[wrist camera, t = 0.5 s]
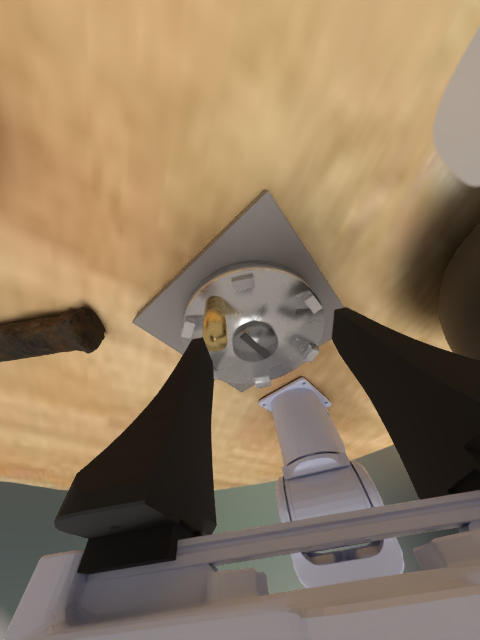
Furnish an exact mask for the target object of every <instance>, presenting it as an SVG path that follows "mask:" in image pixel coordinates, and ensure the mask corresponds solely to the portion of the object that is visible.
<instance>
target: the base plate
mask: <svg viewBox="0 0 480 640" xmlns="http://www.w3.org/2000/svg"><path fill="white" fill-rule="evenodd" d="M249 261H263V262H271V263H275V264H279V265H281V266H284V267H286V268H289V269H290V270H292V271H294V272H295V273H297V274H298V275H299V276H300V277H301V278H303V280H304V281H305V282H306V283H307V284H308V285H309V287H310V288H311V289H312V290H313V292H314V293H315V294H316V295H317V297H318V299H319V300H320V302H321V305H322V307H323V310H324V316H325V326H324V332H323V335H322V338H321V340H320V343H319V345H318V346H320V345H322V344H324V343H325V342H327V341H329V340H330V339H332V329H333V318H334V310H335V309H340V308H344V306H343V305H342V303H341V302H340V300H339V299H338V297H337V296H336V294H335V293H334V291H333V290H332V288H331V286H330V285H329V283H328V282H327V280H326V279H325V277H324V276H323V274H322V273H321V271H320V270H319V268H318V267H317V265H316V263H315V262H314V260H313V259H312V257H311V256H310V254H309V253H308V251H307V250H306V248H305V247H304V245H303V243H302V242H301V240H300V239H299V237H298V236H297V234H296V233H295V231H294V230H293V228H292V227H291V225H290V223H289V222H288V220H287V219H286V217H285V216H284V214H283V213H282V211H281V210H280V208H279V207H278V205H277V203H276V202H275V200H274V199H273V197H272V196H271V194H270V193H269V191H267V190H263V191H262V192H261V193H260V194H259V195H258V196H257V197H256V198H255V199H254V200H253V201H252V202H251V203H250V204H249V205H248V206H247V207H246V208H245V209H244V210H243V211H242V212H241V213H240V214H239V215H238V216H237V217H236V218H235V219H234V220H233V221H232V222H231V223H230V224H229V225H228V226H227V227H225V228H224V229H223V230H222V231H221V232H220V233H219V234H218V235H217V236H216V237H215V238H214V239H213V240H212V241H211V242H210V243H209V244H208V245H207V246H206V247H205V248H204V249H203V250H202V251H201V252H200V253H199V254H198V255H197V256H196V257H195V258H194V259H193V260H192V261H191V262H190V263H189V264H188V265H186V266H185V267H184V268H183V269H182V270H181V271H180V272H179V273H178V274H177V275H176V276H175V277H174V278H173V279H172V280H171V281H170V282H169V283H168V284H167V285H166V286H165V287H164V288H163V289H162V290H161V291H160V292H159V293H158V294H157V295H156V296H155V297H154V298H153V299H152V300H151V301H150V302H149V303H147V304H146V305H145V306H144V307H143V308H142V309H141V310H140V311H139V312H138V313H137V315H136V316H135V318H134V320H133V322H132V323H134V324H135V325H137V326H139V327H140V328H142V329H143V330H145V331H146V332H148V333H150V334H151V335H153V336H154V337H156V338H157V339H159V340H161V341H162V342H164V343H165V344H167V345H168V346H170V347H171V348H173V349H175V350H176V351H178V352H179V353H181V354H182V355H183V354H184V352H185V351H184V348H183V345H182V341H181V326H182V321H183V317H184V312H185V309H186V306H187V303H188V301H189V299H190V297H191V295H192V293H193V292H194V290H195V289H196V288H197V287H198V286H199V285H200V284H201V283H202V281H204V280H205V279H206V278H207V277H209V276H210V275H211V274H213V273H215V272H217V271H218V270H220V269H223V268H225V267H227V266H230V265H233V264H237V263H242V262H249ZM318 346H317V347H318ZM225 382H226V381H225ZM226 383H228V384H229V385H231V386H233V387H234V388H236V389H237V390H239V391H240V392H243V391H245V390H246V389H248V388H250V387H251V386H253V385H255V383H250V384H239V383H231V382H226Z"/></svg>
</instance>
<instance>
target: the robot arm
mask: <svg viewBox="0 0 480 640" xmlns="http://www.w3.org/2000/svg"><path fill="white" fill-rule="evenodd" d="M332 340H333V342H334V344H335V346H336V348H337V350H338V352H339V354H340V355H341V357H342V358H343V360H344V361H345V363H346V364H347V366H348V367H349V368H350V370H351V371H352V373H353V374H354V376H355V377H356V378H357V380H358V381H359V383H360V384H361V386H362V387H363V388H364V390H365V392H366V393H367V395H368V396H369V398H370V400H371V401H372V403H373V405H374V407H375V409H376V410H377V412H378V414H379V416H380V418H381V420H382V422H383V423H384V425H385V427H386V429H387V431H388V433H389V435H390V437H391V439H392V441H393V443H394V445H395V447H396V449H397V451H398V453H399V455H400V457H401V459H402V461H403V464H404V466H405V468H406V470H407V472H408V475H409V477H410V479H411V481H412V483H413V486H414V488H415V490H416V493H417V495H418V497H419V498H420V500H416V501H410V502H404V503H399V504H393V505H386V506H384V504H383V502H382V499H381V497H380V495H379V493H378V491H377V489H376V487H375V485H374V483H373V481H372V479H371V478H370V476H369V474H368V473H367V471H366V469H365V468H364V467H363V466H362V465H361V464H359V463H357V462H356V461H355V460H352V461H349V459H348V457H347V455H346V453H345V447H344V444H343V441H342V439H341V437H340V435H339V433H338V431H337V428H336V426H335V424H334V422H333V420H332V418H331V416H330V413H329V411H328V409H327V407H330V406H331V405H332V403H331V402H330V401H329V400H328V399H327V398H326V397H325V396H324V395H323V394H322V393H320V392H319V391H318V390H317V389H316V388H315V387H314V386H313V385H312V384H310V383H309V382H308V381H307V380H306V379H305V378H303V377H301V378H299V379H297V380H295V381H293V382H292V383H290V384H288V385H286V386H284V387H283V388H281V389H279V390H277V391H275V392H274V393H272V394H270V395H268V396H267V397H265V398H263V399H261V400H260V401H259V405H260V406H262V407H264V408H265V409H267V410H268V411H270V412H272V414H273V419H274V423H275V427H276V432H277V436H278V441H279V445H280V449H281V454H282V458H283V463H284V467H282V471H283V476H282V477H279V479H278V482H277V485H276V495H277V504H278V510H279V515H280V519H281V523H278V524H272V525H266V526H260V527H253V528H247V529H242V530H235V531H230V532H224V533H218V534H212V533H213V531H214V530H215V527H216V525H217V524H216V513H215V499H214V485H213V468H212V445H211V415H212V401H213V386H214V371H213V361H212V359H211V356H210V354H209V351H208V349H207V346H206V344H205V341H204V339H203V337H201V338H196V339H192V340H191V342H190V344H189V345H188V347H187V349H186V351H185V352H184V354H183V356H182V357H181V359H180V361H179V362H178V364H177V366H176V367H175V369H174V371H173V372H172V374H171V375H170V377H169V378H168V380H167V381H166V383H165V384H164V385H163V387H162V388H161V390H160V391H159V392H158V394H157V395H156V396H155V397H154V399H153V400H152V401H151V402H150V404H149V405H148V406H147V407H146V408H145V409H144V410H143V411H142V413H141V414H140V415H139V416H138V417H137V418H136V419H135V420H134V421H133V423H132V424H131V425H130V426H129V427H128V428H127V429H126V430H125V431H124V432H123V433H122V434H121V435H120V436H119V437H118V438H117V439H115V440H114V441H113V442H112V443H111V444H110V445H109V446H108V447H107V448H106V449H105V450H104V451H103V452H101V453H100V454H99V455H98V456H97V457H96V458H95V459H93V460H92V461H91V462H90V463H89V464H88V465H87V466H85V467H84V468H83V469H82V470H81V471H79V472H78V473H77V474H76V476H75V478H74V480H73V483H72V485H71V487H70V489H69V491H68V493H67V495H66V498H65V500H64V502H63V504H62V506H61V508H60V510H59V512H58V514H57V516H56V519H55V521H54V524H55V527H56V528H57V529H58V530H60V531H63V532H66V533H69V534H73V535H77V536H81V537H84V538H88V539H89V540H88V542H87V545H86V548H85V551H83V550H80V551H79V550H78V551H70V552H63V553H57V554H51V555H45V556H43V557H42V558H41V559H40V560H39V563H38V565H37V567H36V569H35V571H34V573H33V575H32V578H31V580H30V582H29V584H28V586H27V588H26V591H25V593H24V595H23V597H22V599H21V601H20V604H19V606H18V608H17V610H16V613H15V615H14V617H13V619H12V621H11V623H10V625H9V627H8V630H7V632H6V634H5V636H4V638H3V640H480V360H476V359H472V358H469V357H466V356H462V355H459V354H456V353H452V352H449V351H446V350H443V349H440V348H437V347H434V346H432V345H429V344H426V343H423V342H421V341H418V340H415V339H413V338H410V337H408V336H406V335H403V334H401V333H399V332H396V331H394V330H392V329H390V328H388V327H385V326H383V325H381V324H379V323H377V322H375V321H373V320H371V319H369V318H367V317H365V316H363V315H361V314H359V313H357V312H355V311H353V310H351V309H349V308H346V307H345V308H340V309H335V310H334V318H333V329H332ZM456 527H460V531H459V532H460V533H458V534H453V535H449V536H445V537H440V538H436V539H433V540H432V541H431V542H430V543H428V544H425V545H423V546H420V547H417V548H414V550H413V552H414V554H415V556H416V558H417V560H418V562H419V564H420V566H421V568H422V571H418V572H411V573H404V574H403V570H404V564H405V563H404V560H403V558H402V557H403V553H402V550H401V548H400V545H399V543H398V541H397V539H396V537H400V536H406V535H412V534H418V533H424V532H431V531H438V530H444V529H450V528H456ZM367 542H370V543H369V544H368V545H365V546H360V547H355V548H349V549H343V550H338V551H332V552H326V553H316V551H322V550H328V549H333V548H339V547H344V546H350V545H356V544H361V543H367ZM286 554H291V557H292V561H293V565H294V570H295V572H296V573H297V575H298V578H299V581H300V582H301V583H302V584H303V585H304V586H305V587H306V589H301V590H294V591H288V592H281V593H275V594H269V593H268V587H267V578H266V574H265V573H264V572H256V570H255V569H254V568H247V569H235V570H224V571H218V569H217V568H216V567H215V566H218V565H224V564H230V563H236V562H242V561H249V560H255V559H262V558H268V557H274V556H280V555H286Z"/></svg>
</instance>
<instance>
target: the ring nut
mask: <svg viewBox="0 0 480 640" xmlns="http://www.w3.org/2000/svg"><path fill="white" fill-rule="evenodd" d="M324 326H325V316H324V310H323V307H322V305H321V302H320V300H319V299H318V297H317V295H316V294H315V293H314V292H313V290H312V289H311V288H310V287H309V285H308V284H307V283H306V282H305V281H304V280H303V278H301V277H300V276H299V275H298V274H297V273H295V272H294V271H292V270H290V269H289V268H286V267H284V266H281V265H279V264H275V263H271V262H263V261H249V262H242V263H237V264H233V265H230V266H227V267H225V268H223V269H220V270H218V271H217V272H215V273H213V274H211V275H210V276H209V277H207V278H206V279H205V280H204V281H202V283H201V284H200V285H199V286H198V287H197V288H196V289H195V290H194V292H193V293H192V295H191V297H190V299H189V301H188V303H187V306H186V309H185V312H184V317H183V321H182V326H181V341H182V345H183V348H184V351H186V349H187V347H188V345H189V344H190V342H191V340H192V339H196V338H201V337H203V339H204V341H205V344H206V346H207V349H208V351H209V354H210V356H211V359H212V361H213V371H214V380H215V379H219V380H222V381H226V382H231V383H239V384H250V383H255V385H256V388H261V387H267V386H271V382H270V380H272V379H275V378H278V377H281V376H283V375H285V374H287V373H289V372H291V371H293V370H294V369H296V368H297V367H299V366H300V365H301V364H303V363H304V362H305V361H306V362H312V361H313V360H314V358H315V357H316V356H317V354H318V353H319V352H320V350H319V348H318V347H317V346H318V345H319V343H320V340H321V338H322V335H323V332H324Z"/></svg>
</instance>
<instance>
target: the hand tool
mask: <svg viewBox="0 0 480 640" xmlns="http://www.w3.org/2000/svg"><path fill="white" fill-rule="evenodd" d="M104 331H105V328H104V327H103V325H102V324H101V322H100V319H99V318H98V317H97V315H96V314H95V313H94V312H93V311H92V310H91V309H90V308H87V307H84V308H81V309H79V310H78V311H77V312H75V311H69V312H66V313H62V314H61V315H59V316H54V317H48V318H38V319H32V320H28V321H25V322H18V323H17V322H12V323H10V324H5V325H0V362H3V361H10V360H16V359H17V360H18V359H23V358H30V357H36V356H37V357H38V356H42V355H50V354H54V353H59V352H69V351H74V350H77V351H84V352H86V353H91V352H93V351H94V350H96V349H97V348H98V347H99V345H100V344H101V342H102V340H103V339H104V337H105V336H104Z"/></svg>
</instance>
